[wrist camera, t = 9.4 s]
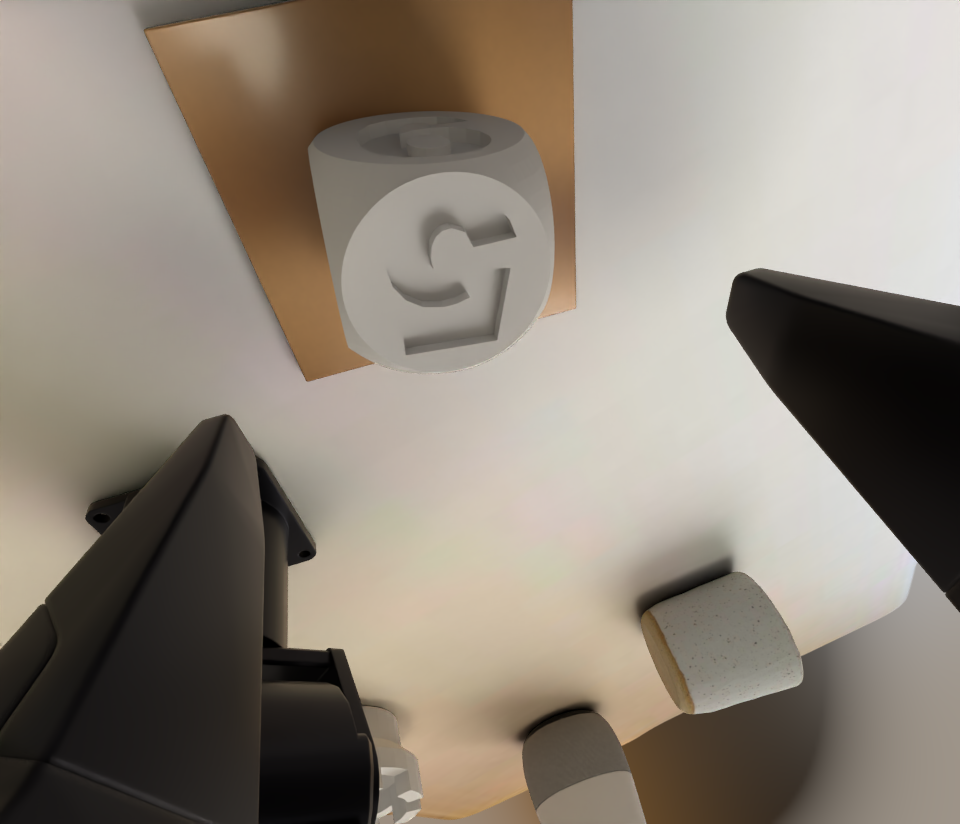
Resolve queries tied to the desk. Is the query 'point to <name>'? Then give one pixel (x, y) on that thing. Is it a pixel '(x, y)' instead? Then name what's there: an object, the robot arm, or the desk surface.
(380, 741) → the flag stand
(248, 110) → the coaster
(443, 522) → the desk surface
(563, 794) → the smart speaker
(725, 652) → the ceramic mug
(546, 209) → the die
